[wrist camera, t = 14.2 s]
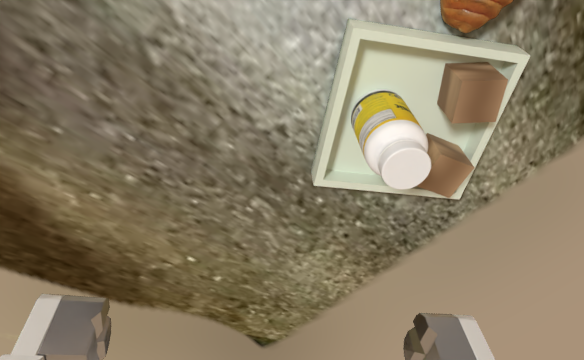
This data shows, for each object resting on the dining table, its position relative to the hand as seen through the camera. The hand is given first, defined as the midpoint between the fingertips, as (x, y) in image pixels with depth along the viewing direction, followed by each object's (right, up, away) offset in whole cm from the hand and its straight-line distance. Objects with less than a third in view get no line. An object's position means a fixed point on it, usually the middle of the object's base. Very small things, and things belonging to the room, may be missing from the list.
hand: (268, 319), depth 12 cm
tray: (+12, +10, +32) cm, 36 cm away
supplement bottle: (+9, +10, +31) cm, 34 cm away
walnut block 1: (+17, +13, +30) cm, 37 cm away
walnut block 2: (+15, +6, +35) cm, 38 cm away
